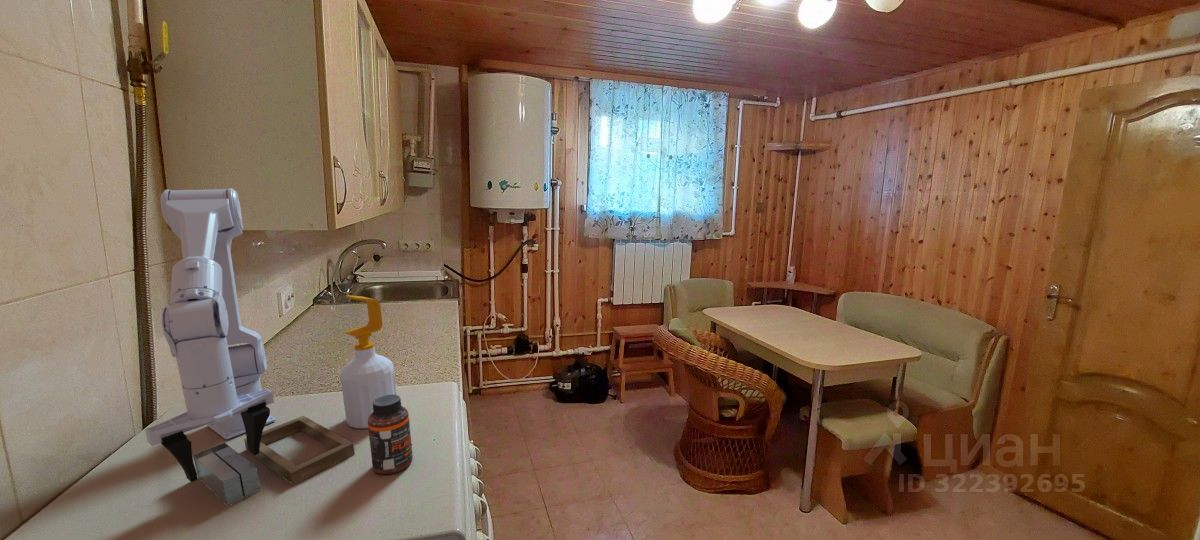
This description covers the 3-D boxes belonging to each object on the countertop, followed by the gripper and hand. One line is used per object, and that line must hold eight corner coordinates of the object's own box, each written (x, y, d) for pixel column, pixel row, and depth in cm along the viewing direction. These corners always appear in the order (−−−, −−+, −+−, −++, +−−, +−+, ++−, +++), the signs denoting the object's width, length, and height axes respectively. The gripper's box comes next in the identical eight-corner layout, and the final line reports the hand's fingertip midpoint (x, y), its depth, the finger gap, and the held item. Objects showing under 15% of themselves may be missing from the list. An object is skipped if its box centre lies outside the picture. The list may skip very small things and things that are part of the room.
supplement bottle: (398, 478, 71) (390, 410, 69) (364, 474, 72) (355, 407, 70) (420, 455, 77) (414, 392, 74) (389, 452, 78) (381, 389, 76)
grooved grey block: (197, 478, 72) (193, 454, 71) (228, 464, 75) (224, 442, 74) (227, 506, 65) (222, 481, 65) (260, 491, 69) (256, 466, 68)
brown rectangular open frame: (246, 449, 79) (244, 439, 79) (304, 425, 87) (303, 415, 87) (293, 484, 70) (291, 473, 69) (354, 454, 77) (353, 443, 77)
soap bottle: (337, 421, 88) (320, 296, 84) (382, 402, 96) (369, 286, 91) (362, 435, 83) (345, 303, 79) (408, 413, 91) (395, 292, 86)
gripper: (148, 408, 59) (169, 502, 61) (276, 369, 71) (289, 449, 73) (133, 395, 63) (153, 484, 65) (257, 360, 75) (270, 436, 77)
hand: (224, 465), depth 70 cm, fingers open, 7 cm apart
